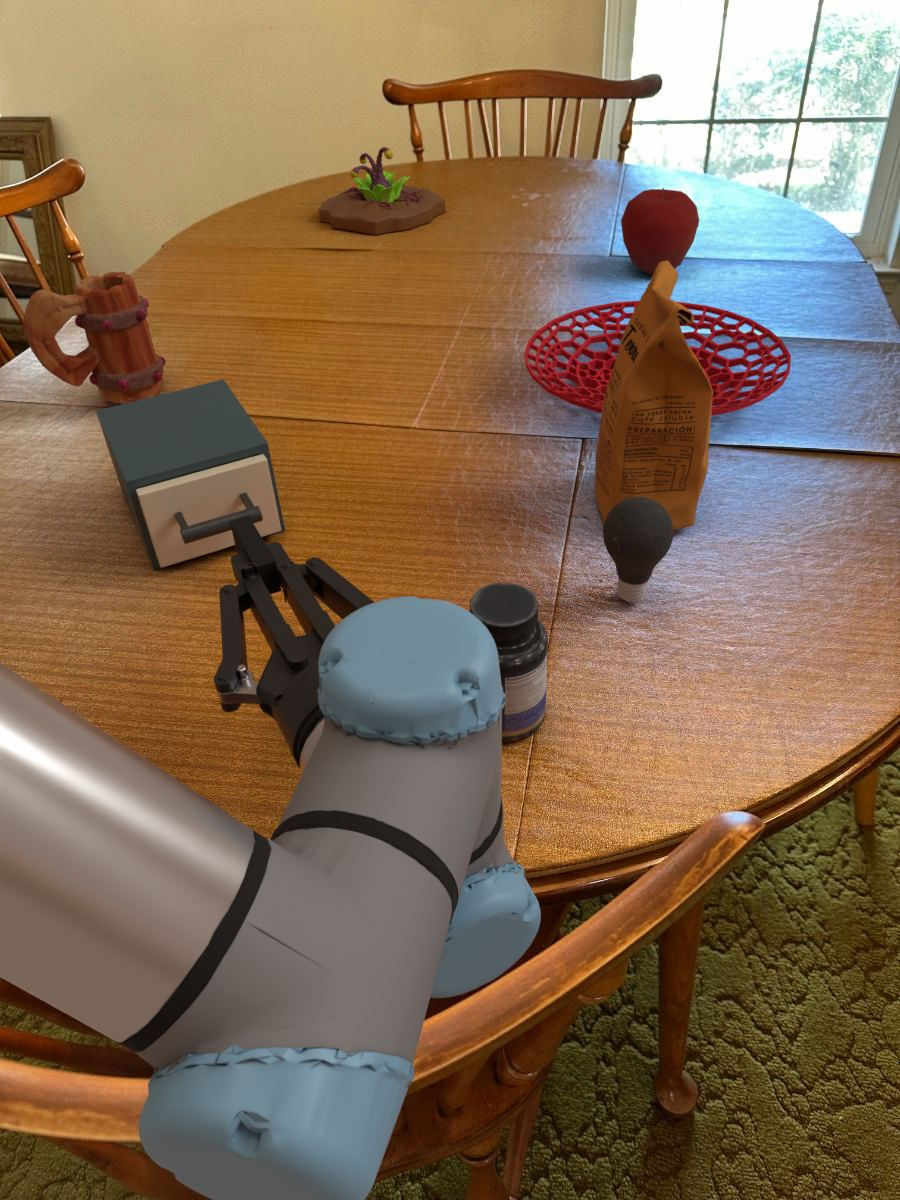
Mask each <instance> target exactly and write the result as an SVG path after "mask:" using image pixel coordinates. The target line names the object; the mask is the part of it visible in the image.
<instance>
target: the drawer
mask: <svg viewBox="0 0 900 1200" xmlns="http://www.w3.org/2000/svg"><path fill="white" fill-rule="evenodd" d="M136 493H137V496H138V499H139V502H140V505H141V509H142V512H143V515H144V518H145V521H146V524H147V528H148V531H149V534H150V537H151V540H152V544H153V547H154V550H155V553H156V556H157V560H158V562H159V565H160V567H161V568H162V567H165V566H168V565H172V564H175V563H178V562H181V561H185V560H188V559H191V558H194V557H198V556H201V555H204V554H208V553H211V552H214V551H217V550H221V549H224V548H227V547H230V546H234V545H235V542H234V538H233V533H232V529H231V525H230V521H231V520H234V519H237V518H241V517H244V516H248V515H249V517H250V518H251V520H252V522H253V523H254V525H255V527H256V529H257V530H258V532H259V534H260V535H261V537H263V536H266V535H269V534H273V533H276V532H279V531H281V526H280V521H279V516H278V511H277V506H276V501H275V496H274V491H273V486H272V481H271V476H270V471H269V466H268V461H267V459H266V457H265V456H264V454H261V455H257V456H254V457H252V456H249V457H245V458H242V459H238V460H234V461H231V462H227V463H224V464H220V465H216V466H213V467H209V468H206V469H202V470H198V471H195V472H191V473H188V474H184V475H181V476H177V477H173V478H170V479H166V480H163V481H159V482H155V483H152V484H148V485H145V486H141V487H139V489H136ZM279 533H280V532H279ZM276 534H277V533H276ZM273 535H274V534H273ZM266 537H267V536H266ZM263 538H264V537H263ZM234 547H235V546H234ZM227 549H228V548H227ZM224 550H225V549H224ZM221 551H222V550H221ZM214 553H215V552H214ZM211 554H212V553H211ZM208 555H209V554H208ZM201 557H202V556H201ZM198 558H199V557H198ZM188 561H189V560H188ZM185 562H186V561H185ZM175 565H176V564H175ZM172 566H173V565H172ZM162 569H163V568H162Z"/></svg>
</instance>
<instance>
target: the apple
mask: <svg viewBox="0 0 900 1200" xmlns="http://www.w3.org/2000/svg"><path fill="white" fill-rule="evenodd" d="M620 224H621V233H622V240H623V241H622V242H623V245H624V246H625V249H626V251H627V254H628V256H629V259H630V261H631V263H632V265H634V266H635V267H637V268H638V269H639V270H641V271H642V272H644V273H645V274H648V275H653V274H654V272H655V269H656V267H657V266H658V264H659V263H660V262H663V261H669V263H670V264H671V265H672V266H673V267H674V269H675V270H676V269H677V268H678V267H679V266H681V265H682V263H683V262H684V259H685V258H686V256H687V254H688V253H689V251H690V249H691V247H692V245H693V243H694V242H695V238H696V235H697V231H698V227H699V224H700V217H699V212H698V207H697V205H696V203H695V202H694V201H693V200H692V199H691V198H690V196H689V195H688V194H687V193H684V192H683V191H681V190H674V189H665V188H664V187H662V189H661V188H651V189H646V190H643V191H641V192H639V193H638V194H637V195H635V196H634V197H633V198H632V199H630V200H628V201H627V204H626V206H625V209H624V211H623V213H622V216H621V220H620Z"/></svg>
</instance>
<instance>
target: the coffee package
mask: <svg viewBox="0 0 900 1200" xmlns="http://www.w3.org/2000/svg"><path fill="white" fill-rule="evenodd" d="M678 278H679V272H678V270H676V268H675V269H674V267H673V266H672V265H671V264H670V263H669V261H663V262H660V263H659V264H658V266H657V267H656V269H655V272H654V274H652V276H651V279H650V281H649V282H648V284H647V286H646V288H645V290H644V291H643V294H642V295H641V296H640V300H639V301H640V302H639V304H638V306H637V308H636V310H635V312H634V311H633V312H634V313H633V312H632V313H633V315H632V317H631V318H630V319H629V320H628V323H626V324H627V327H626V329H625V331H623V337H622V340H620V343H619V344H620V345H619V351H618V354H616V361H615V365H614V368H613V371H612V374H611V377H610V380H609V383H608V386H607V390H606V393H605V396H604V400H603V406H602V413H601V417H600V424H599V430H598V436H597V444H596V453H595V454H596V455H595V465H594V466H595V468H594V497H595V500H596V501H595V502H596V504H597V505H596V506H597V508H598V510H599V513H600V516H601V519H602V522H603V523H604V522H605V520H606V517H607V515H608V514H609V512H610V511H611V510H612V509H613V507H615V506H616V505H617V504H618V503H620V502H622V501H624V500H626V499H628V498H632V497H645V498H650V499H652V500H654V501H656V502H658V503H659V504H661V505H662V506H663V507H664V508H665V509H666V511H667V512H668V513H669V515H670V517H671V520H672V523H673V531H676V530H680V529H684V528H690V527H694V525H695V523H696V522H695V521H696V515H697V514H696V513H697V509H698V501H699V499H700V496H701V493H702V490H703V487H704V485H705V482H706V478H707V474H708V469H709V468H708V467H709V450H710V436H711V426H712V425H711V423H712V416H711V412H712V407H713V406H712V396H713V390H712V387H711V385H710V382H709V380H708V378H707V376H706V374H705V372H704V370H703V368H702V367H701V365H700V363H699V361H698V360H697V358H696V356H695V355H694V353H693V351H692V350H691V348H690V347H689V346H690V345H689V343H688V342H687V339H685V338H684V336H683V333H684V332H683V330H682V328H681V326H680V323H682V324H686V325H688V324H691V323H693V322H695V321H694V317H693V315H694V314H693V312H692V310H691V309H687V308H686V307H684V306H682V305H681V304H679V303H678V302H679V301H676V300H673V299H672V298H671V297H672V295H673V293H674V288H675V286H676V284H677V282H678Z"/></svg>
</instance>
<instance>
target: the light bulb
mask: <svg viewBox="0 0 900 1200" xmlns="http://www.w3.org/2000/svg"><path fill="white" fill-rule="evenodd" d="M674 533H675V532H674V530H673V523H672V520H671V517H670V515H669V513H668V512H667V511H666V509H665V508H664V507H663V506H662V505H661V504H659V503H658V502H656V501H654V500H652V499H650V498H645V497H632V498H628V499H626V500H624V501H622V502H620V503H618V504H617V505H616V506H615V507H613V509H612V510H611V511H610V512H609V514H608V515H607V517H606V520H605V522H604V521H603V528H602V538H603V543H604V547H605V549H606V551H607V554H609V557H610V558H611V559H612V561H613V563H614V565H615V569H616V575H617V578H618V579H617V595H618V596H619V598H620V599H622V600H624V601H626V602H627V603H628V604H635V603H637V602H640V601H642V600H644V599H645V598H646V596H647V592H648V589H649V580H650V579H651V577H652V574H653V572H654V569H655V568H656V566H657V565H658V564H659V563H660V562H661V561H662V560H663V558H664V557H665V556H666V555H667V554H668V552H669V551H670V548H671V547H672V543H673V540H674V537H675V536H674V535H675V534H674Z"/></svg>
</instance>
